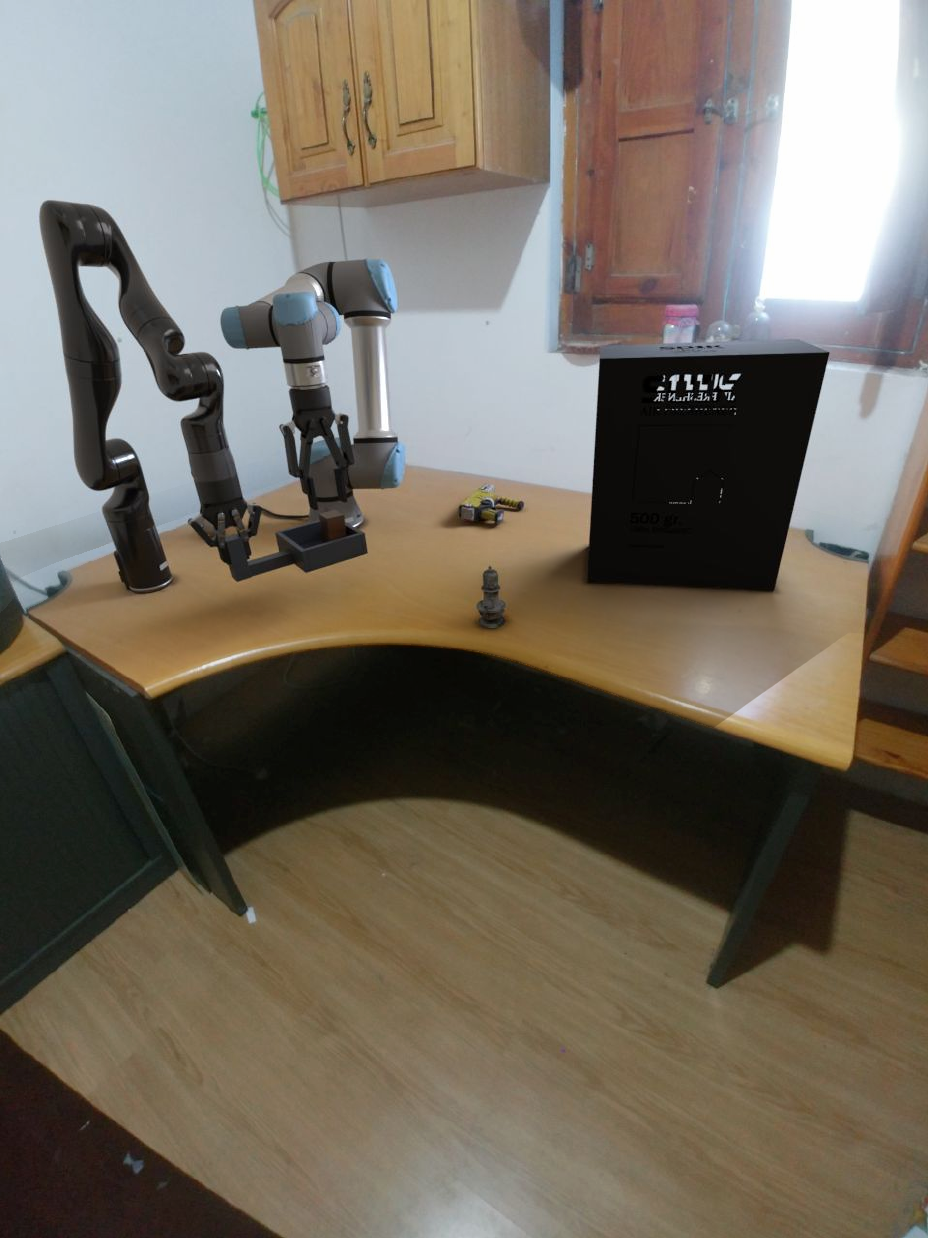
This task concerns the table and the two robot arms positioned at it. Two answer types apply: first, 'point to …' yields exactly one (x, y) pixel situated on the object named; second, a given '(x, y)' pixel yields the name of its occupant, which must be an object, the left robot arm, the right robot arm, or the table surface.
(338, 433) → the right robot arm
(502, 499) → the toy gun
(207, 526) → the eyeball
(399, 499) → the table surface
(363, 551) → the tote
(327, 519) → the walnut block
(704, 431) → the cardboard box
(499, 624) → the grey tall tiered piece
